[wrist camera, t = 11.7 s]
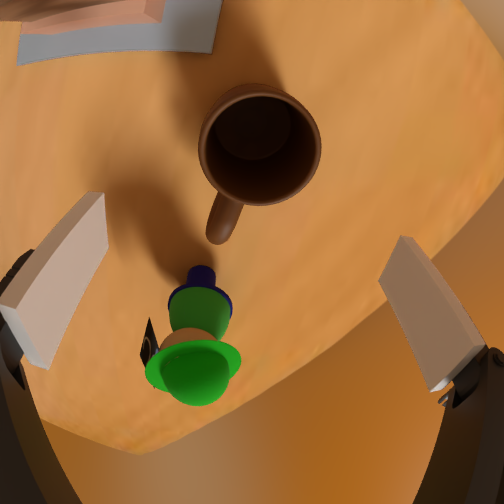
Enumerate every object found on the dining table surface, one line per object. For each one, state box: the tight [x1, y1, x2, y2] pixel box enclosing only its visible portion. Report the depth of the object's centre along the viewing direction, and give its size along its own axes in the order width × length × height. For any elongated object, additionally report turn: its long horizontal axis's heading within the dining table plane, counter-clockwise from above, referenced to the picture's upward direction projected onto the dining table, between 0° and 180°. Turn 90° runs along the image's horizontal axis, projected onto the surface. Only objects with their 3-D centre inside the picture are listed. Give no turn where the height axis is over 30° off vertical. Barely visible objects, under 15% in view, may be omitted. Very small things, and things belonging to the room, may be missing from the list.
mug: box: [198, 84, 321, 245], centre depth 21 cm, size 12×8×9 cm, turn 155°
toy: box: [140, 265, 241, 406], centre depth 28 cm, size 9×9×15 cm
